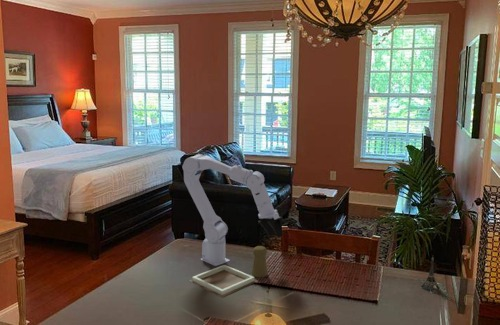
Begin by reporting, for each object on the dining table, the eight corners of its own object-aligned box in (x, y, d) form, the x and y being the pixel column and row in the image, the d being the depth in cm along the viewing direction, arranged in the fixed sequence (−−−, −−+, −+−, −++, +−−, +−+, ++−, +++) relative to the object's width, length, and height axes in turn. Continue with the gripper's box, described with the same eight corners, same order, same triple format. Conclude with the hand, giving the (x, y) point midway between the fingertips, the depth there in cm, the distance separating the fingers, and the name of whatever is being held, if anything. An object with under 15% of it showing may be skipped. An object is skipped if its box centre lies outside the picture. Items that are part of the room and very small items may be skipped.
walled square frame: (192, 280, 169) (192, 276, 169) (224, 268, 181) (224, 264, 180) (222, 295, 158) (222, 291, 158) (254, 281, 170) (254, 277, 169)
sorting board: (188, 281, 169) (188, 280, 169) (224, 267, 182) (224, 266, 182) (221, 298, 157) (221, 297, 157) (258, 282, 170) (258, 281, 170)
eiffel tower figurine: (451, 301, 158) (455, 264, 156) (420, 298, 160) (423, 261, 157) (441, 282, 172) (445, 248, 170) (413, 280, 174) (416, 246, 172)
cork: (268, 271, 179) (268, 244, 177) (267, 278, 173) (267, 250, 171) (252, 271, 179) (252, 243, 177) (250, 277, 173) (251, 249, 171)
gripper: (280, 198, 172) (293, 232, 173) (264, 199, 186) (276, 230, 186) (264, 205, 170) (277, 240, 170) (249, 205, 183) (261, 237, 184)
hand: (275, 235), depth 178 cm, fingers open, 7 cm apart
